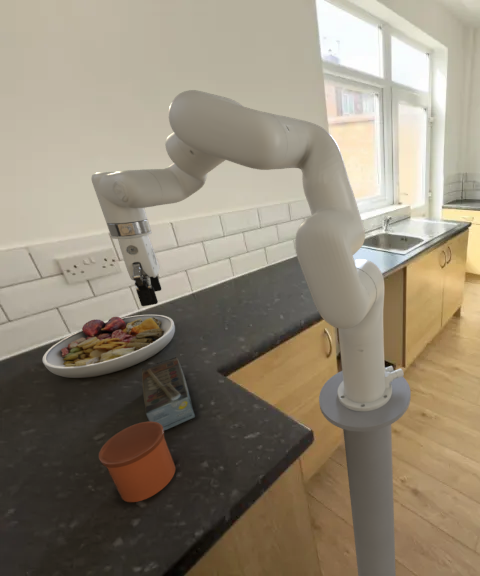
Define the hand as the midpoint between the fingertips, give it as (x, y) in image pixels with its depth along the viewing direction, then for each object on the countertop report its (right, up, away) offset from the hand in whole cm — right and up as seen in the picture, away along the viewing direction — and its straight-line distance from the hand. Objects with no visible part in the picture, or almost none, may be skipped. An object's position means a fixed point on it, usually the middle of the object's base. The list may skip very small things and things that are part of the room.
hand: (152, 297), depth 79 cm
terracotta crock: (+16, -31, -23) cm, 42 cm away
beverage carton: (+8, -24, -5) cm, 26 cm away
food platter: (-21, -17, +16) cm, 32 cm away
